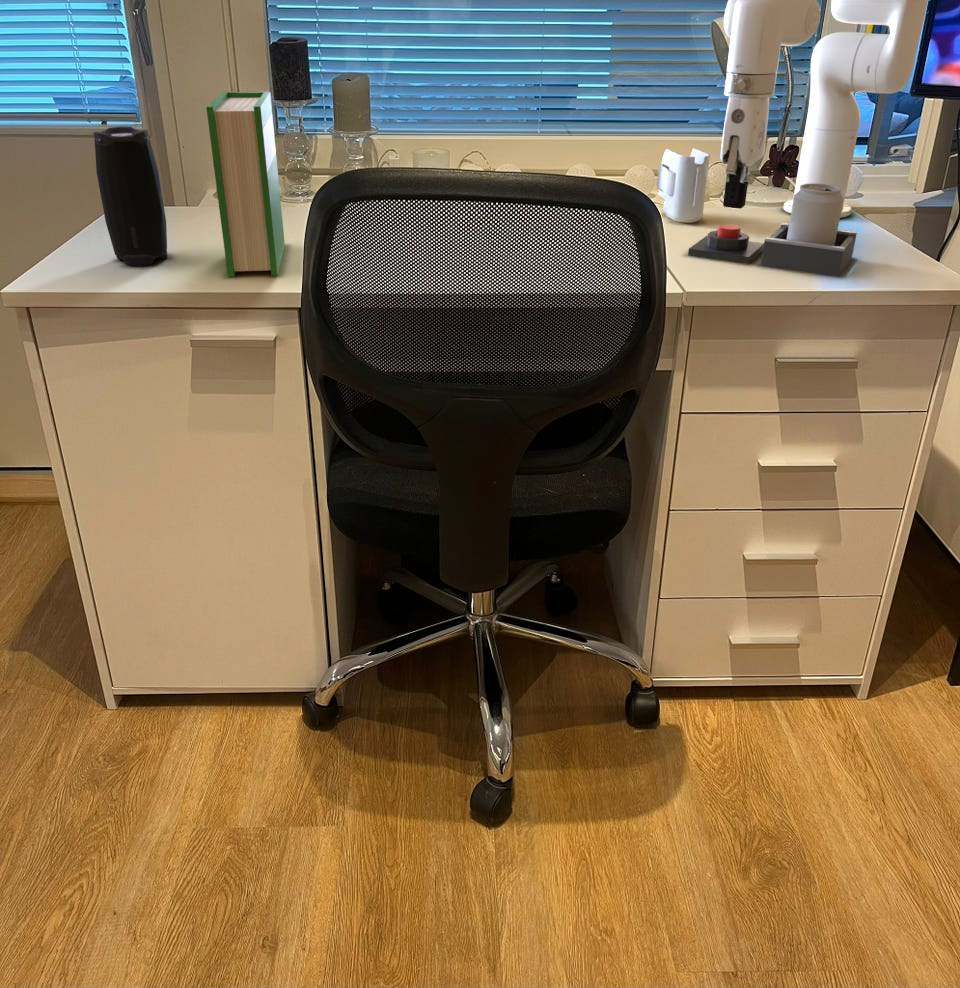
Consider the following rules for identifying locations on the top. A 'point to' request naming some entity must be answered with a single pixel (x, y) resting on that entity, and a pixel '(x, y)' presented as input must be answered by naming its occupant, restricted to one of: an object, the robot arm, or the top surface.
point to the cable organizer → (683, 184)
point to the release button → (729, 231)
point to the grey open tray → (808, 253)
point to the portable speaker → (131, 195)
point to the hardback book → (247, 180)
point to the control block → (726, 248)
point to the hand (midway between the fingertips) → (733, 206)
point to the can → (815, 214)
